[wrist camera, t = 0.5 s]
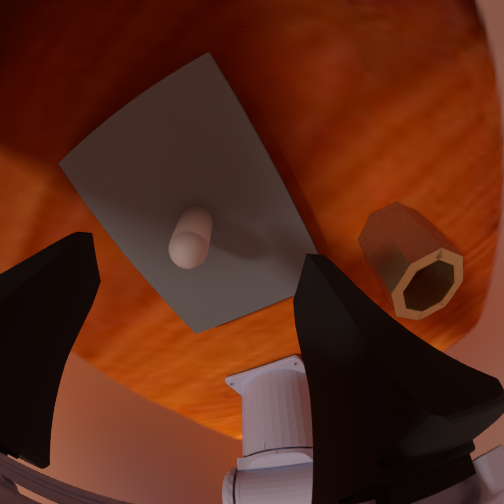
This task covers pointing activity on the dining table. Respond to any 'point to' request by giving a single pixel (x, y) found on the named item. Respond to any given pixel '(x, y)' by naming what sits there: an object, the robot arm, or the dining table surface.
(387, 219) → the wooden collar
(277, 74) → the dining table surface
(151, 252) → the pin board
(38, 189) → the dining table surface
